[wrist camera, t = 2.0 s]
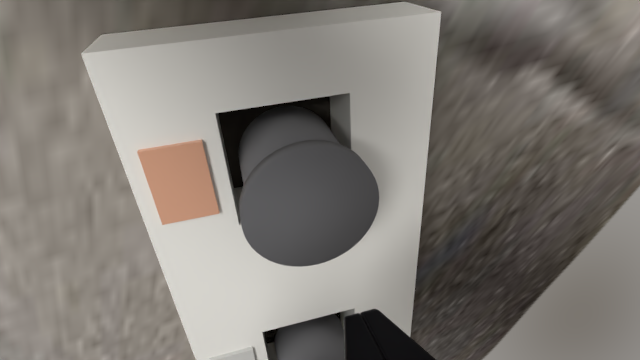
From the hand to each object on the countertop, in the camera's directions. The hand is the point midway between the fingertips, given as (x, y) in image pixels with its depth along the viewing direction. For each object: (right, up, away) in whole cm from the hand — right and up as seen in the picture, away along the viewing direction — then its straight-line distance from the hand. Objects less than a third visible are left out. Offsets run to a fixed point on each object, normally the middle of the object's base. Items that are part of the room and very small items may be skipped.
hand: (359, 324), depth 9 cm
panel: (-2, 0, +12) cm, 13 cm away
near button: (-2, +5, +7) cm, 9 cm away
